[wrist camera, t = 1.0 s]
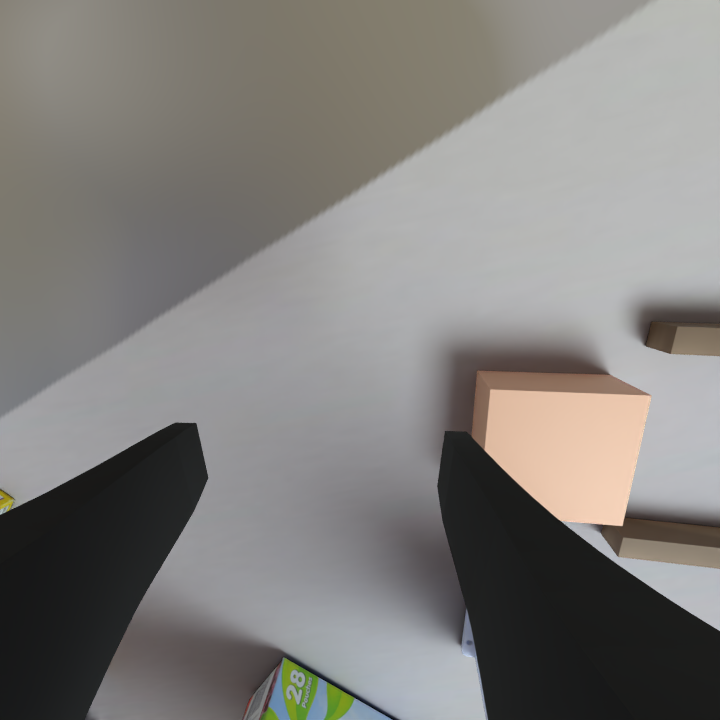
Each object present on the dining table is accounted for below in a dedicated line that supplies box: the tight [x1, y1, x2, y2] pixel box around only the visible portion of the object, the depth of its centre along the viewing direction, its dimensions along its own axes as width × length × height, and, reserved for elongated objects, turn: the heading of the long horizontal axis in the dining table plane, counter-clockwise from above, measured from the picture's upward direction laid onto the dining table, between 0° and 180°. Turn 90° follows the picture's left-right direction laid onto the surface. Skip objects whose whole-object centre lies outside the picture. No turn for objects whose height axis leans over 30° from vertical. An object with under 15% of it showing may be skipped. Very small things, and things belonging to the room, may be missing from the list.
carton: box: [472, 371, 651, 526], centre depth 21 cm, size 8×8×4 cm
